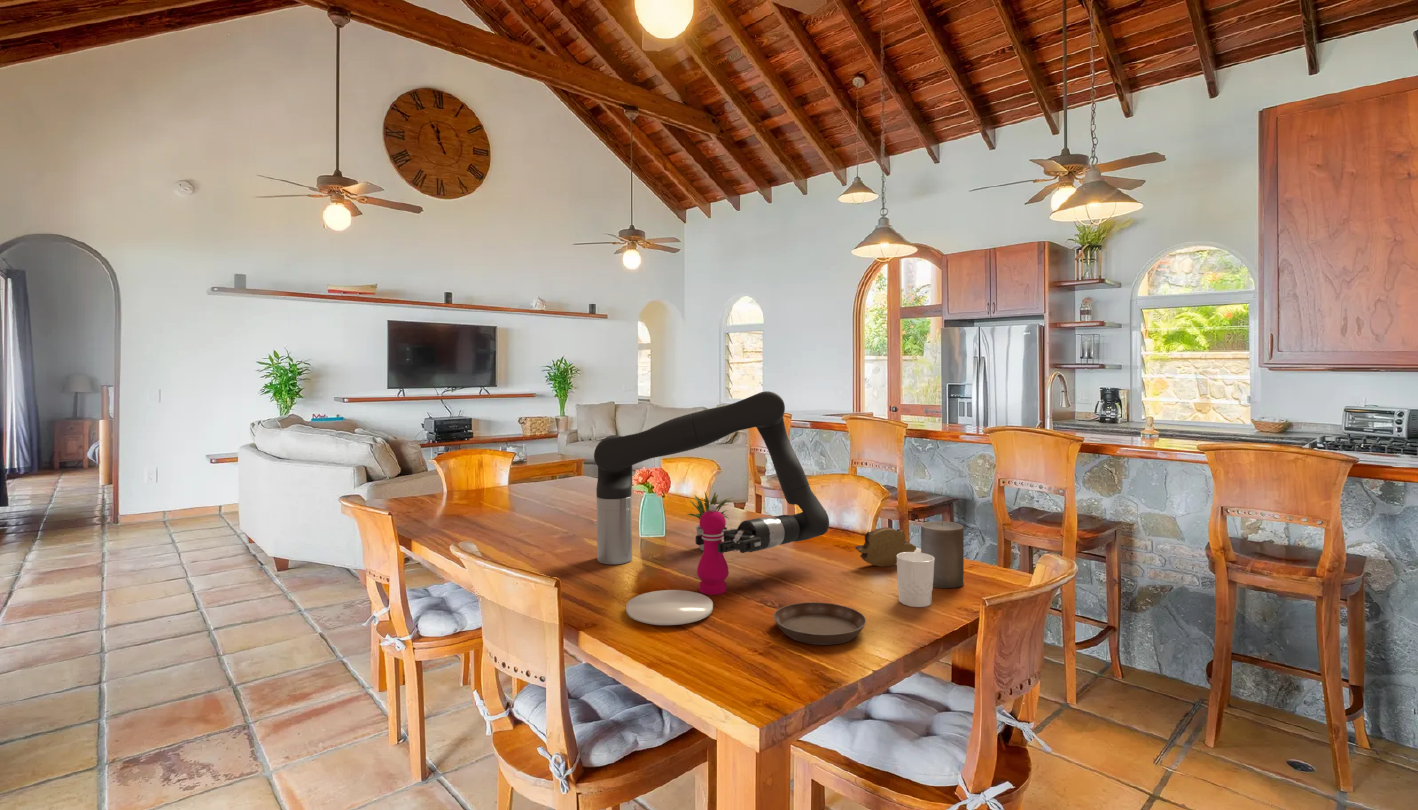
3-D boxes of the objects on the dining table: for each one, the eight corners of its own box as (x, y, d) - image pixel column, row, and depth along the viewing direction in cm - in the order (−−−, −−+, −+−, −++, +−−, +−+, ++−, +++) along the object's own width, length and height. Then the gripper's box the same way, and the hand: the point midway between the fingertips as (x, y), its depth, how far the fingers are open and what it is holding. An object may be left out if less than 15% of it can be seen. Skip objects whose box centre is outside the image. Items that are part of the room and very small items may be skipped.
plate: (612, 607, 143) (612, 599, 143) (685, 592, 152) (685, 584, 152) (650, 636, 127) (650, 626, 127) (729, 617, 137) (729, 608, 137)
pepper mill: (692, 593, 152) (691, 506, 151) (704, 584, 158) (703, 500, 157) (721, 597, 149) (721, 508, 148) (733, 587, 156) (732, 502, 155)
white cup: (914, 610, 140) (915, 563, 140) (888, 599, 147) (888, 554, 147) (942, 604, 144) (942, 558, 143) (915, 593, 151) (915, 550, 150)
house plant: (735, 556, 181) (735, 497, 180) (684, 556, 182) (684, 497, 181) (734, 543, 196) (734, 487, 195) (687, 543, 196) (686, 487, 195)
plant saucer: (770, 614, 139) (770, 600, 139) (856, 615, 138) (856, 601, 138) (776, 650, 121) (776, 634, 121) (875, 651, 121) (875, 634, 121)
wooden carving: (906, 560, 178) (907, 522, 177) (917, 564, 173) (917, 526, 173) (852, 566, 172) (852, 527, 172) (861, 571, 168) (861, 531, 168)
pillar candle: (970, 581, 159) (970, 519, 158) (953, 591, 152) (953, 526, 151) (931, 574, 166) (931, 513, 165) (913, 583, 159) (913, 520, 158)
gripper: (742, 513, 167) (689, 522, 158) (781, 523, 156) (726, 534, 146) (742, 543, 168) (689, 553, 158) (781, 555, 156) (726, 567, 147)
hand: (707, 544), depth 152 cm, fingers open, 8 cm apart
